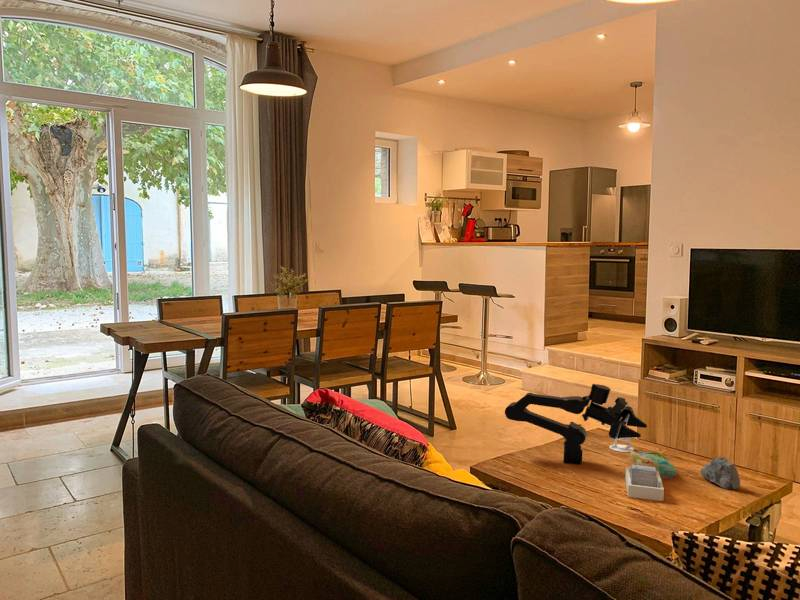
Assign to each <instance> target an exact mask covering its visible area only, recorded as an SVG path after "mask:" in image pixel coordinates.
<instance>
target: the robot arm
mask: <svg viewBox="0 0 800 600" xmlns="http://www.w3.org/2000/svg"><path fill="white" fill-rule="evenodd" d="M610 393H611V388H610V387H609V386H606V385H604V384H599V383H598V384H597V383H592V385H591V387H590V391H589V395H585V396H579V395H577V396H573V395H571V396H562V397H560V396H553V395H547V394H546V395H545V394H539V393H533V392H527V393H526V394H525V395H524V396H523V397H521V398H520V399H519V400H517V401H512V402H511V403H509V404H508V405H507V407H505V409H504V415H505V417H506V418H507V419H508V420H510V421H516V422H525V423H529V424H531V425H534V426H537V427H538V428H539V427H540V428H542V429H545V430H547V431H550V432H552V433H555V434H558V435H560V436H562V437H563V438H564V442H563V461H562V463H564V464H573V465H582V463H581V462H583V449H582V445H583V444H584V442H585V440H586V438H587V435H588V433H587V429H585V427H583V426H582V424H578V423H576V422H574V421H570V422H569V424H567V423H566V424H565V423H562V422H559V421H556V420H554V419H552V418H549V417H546V416H543V415H541V414H538V413H536V412H533V411H531V410H529V409H528V408H527V407H529V406H530V405H534V406H535V405H536V406H541V407H547V408H548V407H549V408H556V409H560V410H563V411H565V412H567V413H571V414H574V415H580V414H581V417H582V418H583V421H584V422H588V420H589V418H591V419H593V420H594V421H600V422H599V423H601V424H600V425H602V426H605V425H606V426H609V428H610V429H609V431H608V435H609V437H610V438H611V439H612V438H613V439H616V437H617V435H618V437H617V438H618V439H619V438H629V437H630V438H641V436H642V434H641V433H640V432H637V431H636V430H633V429H632V428H629V427H635V428H643V429H646V428H647V427H648V424H646V423H645V422H644V421H642V420H641V419H639V418H638V417H637V416H636V415H635V413H634V412H635V411H634V410H633V407H631V406H630V405H629V404H628V402H627V401H626V398H624V397H618V396H617V398H616V399H615V400H614V403H615V404H614V405H613V406H608V407H604V406H603V405H604V404H606V403H607V401H608V398H609V396H610ZM589 403H590V404H589ZM627 404H628V405H629V406H626V405H627ZM588 405H589V406H588ZM625 406H626V407H625ZM584 410H585V411H584ZM583 412H584V413H583ZM604 424H605V425H604ZM610 426H611V427H610Z"/></svg>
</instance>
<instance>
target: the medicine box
mask: <svg viewBox="0 0 800 600" xmlns="http://www.w3.org/2000/svg"><path fill="white" fill-rule="evenodd" d="M630 468H631V484H632V485H640V486H648V487H656V468H655V467H649V466H641V465H636V464H631V467H630Z"/></svg>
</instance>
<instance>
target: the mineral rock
mask: <svg viewBox="0 0 800 600" xmlns="http://www.w3.org/2000/svg"><path fill="white" fill-rule="evenodd" d="M737 469H738V468H736V466H735V465H734V464H733V463H732V462H730V461H729V460H728V458H726V457H724V456H719V457H716V458H713V459H711V461H710V462H709V463H708V462H707V463H705V465H704V467H702V468H701V469H700V474H701V476H702V477H703V478H704V479H706V480H707V481H709V482H710V483H711V482H712V483H714V484H715V485H717V486H719V487H721V488H723V489H726V490H730V489H731V490H737V489H738V488H740V486H741V479H740V475H739V472H738V470H737Z"/></svg>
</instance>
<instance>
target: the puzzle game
mask: <svg viewBox="0 0 800 600" xmlns="http://www.w3.org/2000/svg"><path fill="white" fill-rule="evenodd" d="M629 453H630V454H629V455H630V457H631V458H632V460H633V462H634V465H641V466H649V467H655V468H656V471H659V474H660V477H661V480H673V479H674V478H675V477H676V476H677V473H678V472H677V470H676V469H675V467H674V466H673V465H672V463H671V462H670V461H669V460H668V459H667V457H666V456H665V455H664V453H662V452H649V451H648V452H647V451H631V452H629Z"/></svg>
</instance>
